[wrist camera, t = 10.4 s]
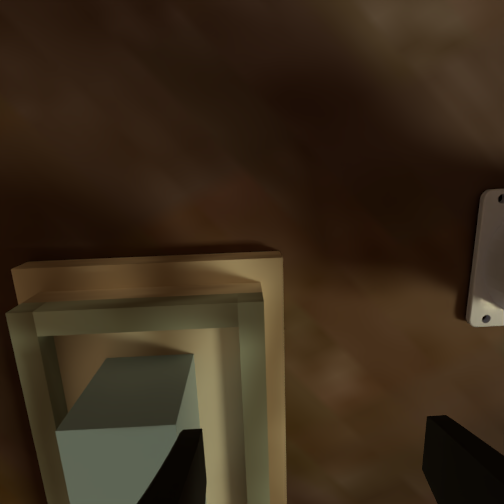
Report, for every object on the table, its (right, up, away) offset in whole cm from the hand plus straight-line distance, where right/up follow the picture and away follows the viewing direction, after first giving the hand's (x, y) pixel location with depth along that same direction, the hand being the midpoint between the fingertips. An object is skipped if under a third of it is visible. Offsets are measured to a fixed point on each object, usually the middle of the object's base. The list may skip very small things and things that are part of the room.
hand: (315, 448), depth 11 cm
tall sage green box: (-7, -4, +8) cm, 11 cm away
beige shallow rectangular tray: (-7, -4, +11) cm, 13 cm away
